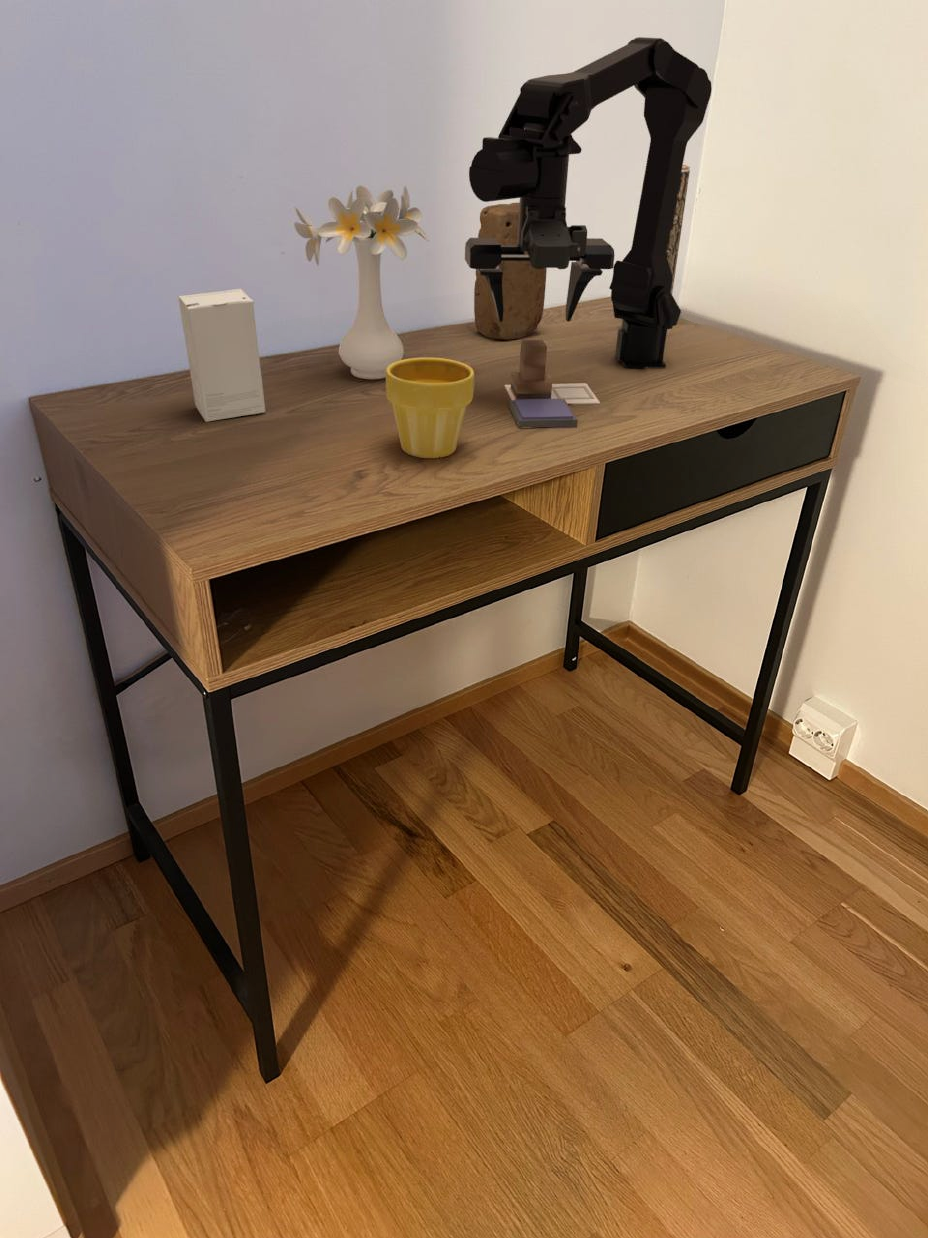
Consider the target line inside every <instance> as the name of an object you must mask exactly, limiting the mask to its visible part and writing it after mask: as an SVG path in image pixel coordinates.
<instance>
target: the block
mask: <svg viewBox="0 0 928 1238" xmlns="http://www.w3.org/2000/svg"><path fill="white" fill-rule="evenodd" d="M519 203H520V202H511V203H499V204H498V203H497V204H492V205H488V206H485V207H484V208H483V207H482V209H481V210H480V212H479V222H480V229H479V230H478V235H477V238H496V239H497V241H498V242H499V243H500V244H501V245H517V244H518V242H517V239H518V227H519V209H520V208H519ZM525 253H527V254H528V252H527V251H524V254H525ZM499 267H500V269H501V270H502V272H503V277H502V292H503V321H502V322H500V321H499V319H498V316H497V312H496V308H495V305H494V301H493V297H492V293H491V290H490V287H489V284H488V282H487V279H486V277H485V276H483V275H480V274H479V273H478V271H477V270H476V269H475V277H476V279H475V281H474V289H473V290H474V292H473V309H474V310H473V311H474V314H473V315H474V325H475V328H476V330H477V331H478V332H480V334H481V335H482V336H484V337H486V338H489V339H493V340H505V341H506V340H508V341H510V340H516V339H521V338H523V337H524V336H525V337H526V336H527V337H528V336H530V335H532V334H534V333H535V331H536V330H537V329H538V326H539V324H540V323H541V321H542V318H543V314H544V306H545V299H546V286H547V285H546V283H547V272H548V271H547V269H548V268H544V269H535V268H533V267H532V266H531V265H530V261H501V263H500V264H499Z"/></svg>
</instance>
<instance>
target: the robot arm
mask: <svg viewBox="0 0 928 1238" xmlns="http://www.w3.org/2000/svg"><path fill="white" fill-rule="evenodd" d="M632 87H634V88H635V89H636V90H637V91H638V92H639V93H640V95H642V97H643V98H644V103H643V106H644V107H643V117H644V118H643V119H644V121H645V125H646V127H647V130H648V133H649V137H650V142H649V145H648V146H649V147H648V151H647V152H648V153H647V158H646V165H645V170H644V175H643V181H642V186H641V187H642V188H641V193H640V197H639V203H638V209H637V210H638V211H637V215H636V222H635V227H634V233H633V239H632V243H631V244H632V245H631V249H630V250H629V251H628V252H627V254H626V255H625V257H624V258H623V259H622V260H616V261H615V256H616V255H615V249H614V248H613V246H612V245H611V244H610V243H608V242H607V241H606V240H605V239H603V238H602V237H601V238H600V237H599V238H592V237H591V238H588V228H587V226H586V225H583V224H582V225H579V224H573V225H570V226H568V225H567V211H566V210H567V207H566V200H567V199H566V197H567V184H568V173H569V160H570V155H579V154H581V153H582V147H581V146H580V145H579V143H578V142H577V141H576V140H575V139H574V137H573V135H572V134H573V133H575V131H577V130H578V129H579V128H580V127H582V126H583V124H585V123H586V122H587V121H588V120H589V118H590V115H591V113H592V110H593V109H595V107H597V106H598V105H600V104H602V103H604V102H606V101H608V100H610V99H612V98H613V97H615V96H617V95H619V94H620V93H622V92H625V91H626V90H628V89H630V88H632ZM712 90H713V89H712V82H711V80H710V78H709V76H708V73H707V72H706V70H705V69H704V68H702V67H699V65H698V64H697V63H695V62H694V61H693V60H691V59H690V58H688V57H686V56H684V55H683V54H681V53H680V52H678V51H677V50H676V49H674V47H672V45H671V43H669V42H668V41H666V40H665V39H663V38H660V37H659V38H658V37H642V36H639V37H636V38H634V39H631V40H629V42H628V43H627V44H626V45H623V46H622V47H620V48H617V49H615V50H614V51H612V52H610V53H608V54H606V55H603V57H599V58H598V59H596V60H594V61H592V62H590V63H588V64H586V65H584V66H583V67H581V68H578V69H577V70H574V71H572V72H567V73H559V74H550V75H549V74H548V75H543V76H538V77H535V78H531V79H527V81H525V82H524V83H523V84H522V85H521V87H520V92H519V94H518V96H517V98H516V101H515V103H514V104H513V106H512V109H511V110H510V113H509V114H508V116H507V119H506V120H505V122H504V123H503V126H502V128H501V130H500V133H499V134H498V137H494V136H493V137H492V136H491V137H490V136H487V137H486V136H485V137H483V138H482V144H481V145H482V146H481V149H480V150H478V151H477V152H476V154H475V155H474V157H473V159H472V161H471V163H470V164H471V165H470V166H469V167H468V179H469V185H470V187H471V190H472V192H473V194H474V195H475V197H476V198H477V199H478V200H480V201H482V202H484V203H488V202H495V201H505V200H506V201H507V200H513V199H519V202H518V203H519V208H520V209H519V227H518V239H517V242H518V244H517V245H501V244H500V243H499V242H498V241H497V239H496V238H478V237H469V238H468V239H467V240H466V241H465V243H464V244H465V246H464V260H465V262H466V264H467V265H468V267H469V268H470V269H473V270H475V271H476V270H477V271H478V273H479V274H480V275H483V276H485V277H486V279H487V282H488V284H489V287H490V290H491V293H492V297H493V301H494V305H495V308H496V312H497V316H498V319H499V321H500V322H502V321H503V292H502V277H503V272H502V270H501V269H500V267H499V264H500V263H501V261H530V265H531V266H532V267H533V268H535V269H544V268H547V269H558V270H566V269H567V268H568V267H569V265H570V272H569V280H568V287H567V294H566V296H567V297H566V303H565V304H566V305H565V320H566V322H571V320H572V318H573V316H574V313H575V312H576V309H577V306H578V305H579V302H580V300H581V297H582V295H583V293H584V292H585V290H586V288H587V287H588V284H589V283H590V282H591V281H592V280H593V278H594V277H597V276H598V277H600V276H602V275H603V272H604V271H603V270H612V269H613V270H612V271H613V272H612V279H611V282H610V285H609V290H611V291H610V301H611V302H612V309H613V317H614V318H615V319H619V320H622V321H621V323H622V324H621V328H619V329H618V330H617V337H616V345H615V353H614V356H615V358H617V359H618V361H619V363H621V365H622V366H623V367H625V368H627V369H629V368H631V369H634V368H636V369H637V368H638V369H639V368H666V367H667V363H666V361H664V356H665V346H666V341H667V333H668V330H672V329H673V327H675V326H677V324H678V322H679V319H680V317H681V313H682V311H681V309H680V306H679V305H678V302H677V301H676V300H675V298H674V296H673V293H672V294H671V284H672V272H671V269H670V265H669V262H668V259H667V256H666V249H667V244H668V238H669V233H670V228H671V223H672V218H673V212H674V207H675V202H676V197H677V192H678V187H679V181H680V176H681V171H682V166H683V165H684V160H685V154H686V149H687V145H688V142H689V141H690V140H691V139H692V136H694V134H695V133H696V132H697V130H698V129H699V128H700V127H701V125H702V124H703V122H704V119H705V116H706V112H707V108H708V104H709V101H710V99H711V96H712ZM524 251H527V252H528V254H527V253H525V254H524ZM570 262H571V264H570Z"/></svg>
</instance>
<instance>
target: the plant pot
mask: <svg viewBox="0 0 928 1238" xmlns="http://www.w3.org/2000/svg"><path fill="white" fill-rule="evenodd" d="M474 389H475V371H474V369H473V368H472V367H471V366H470V365H467V364H466V363H464V362H461V361H458V360H454V359H448V358H442V357H412V358H404V359H401V360H400V361H397V362H394V363H392V364H390V365H389V366H388V367H387V369H386V378H385V395H386V398H387V400H388V401H389V403H391V405H392V408H393V409H392V410H393V413H394V418H395V422H396V427H397V432H398V437H399V441H400V445H401V448H402V451H404V452H405V453H406V454H408V455H410V456H413V457H416V458H421V459H440V458H444V457H448V456H450V455H452V454H453V453H455V451H456V450H457V446H458V442H459V437H460V433H461V429H462V425H463V422H464V418H465V413H466V409H467V406H468V405H469V404H470V403H472V401H473V399H474ZM439 457H440V458H439Z"/></svg>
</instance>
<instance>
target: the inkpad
mask: <svg viewBox="0 0 928 1238" xmlns="http://www.w3.org/2000/svg"><path fill="white" fill-rule="evenodd" d="M508 407H510V408H509V410H510V412H511V411H512V412H511V414H512V413H513V414H512V416H513V415H514V416H513V418H514V417H515V418H514V420H515V419H516V420H515V422H516V421H517V423H518V425H517V427H518V426H519V427H518V429H523V428H522V427H531V428H530V429H534V428H533V427H536V428H535V429H538V428H537V427H557V428H577V427H578V418H577V416H576V415H575V414H574V412H573V410H572V409H571V407H570V405H568V404H567V402H566V401H565V399H516V400H511V399H510V400H509V406H508ZM517 423H516V424H517Z"/></svg>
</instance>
